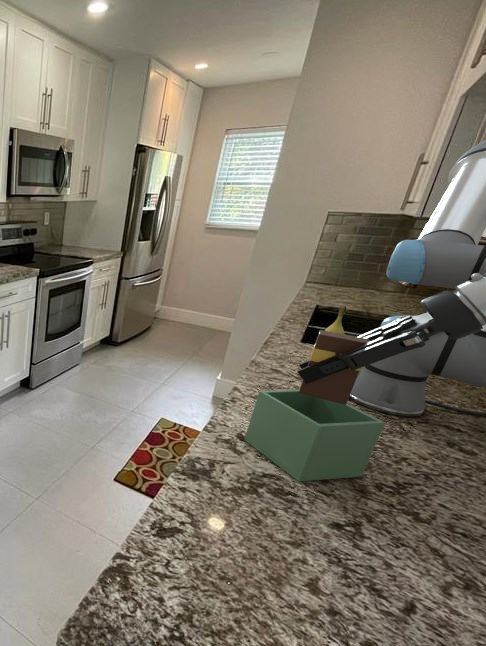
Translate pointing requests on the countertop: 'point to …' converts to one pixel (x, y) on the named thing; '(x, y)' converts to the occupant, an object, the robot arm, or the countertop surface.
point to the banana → (338, 322)
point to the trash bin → (312, 435)
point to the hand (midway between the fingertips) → (302, 373)
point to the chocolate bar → (338, 383)
